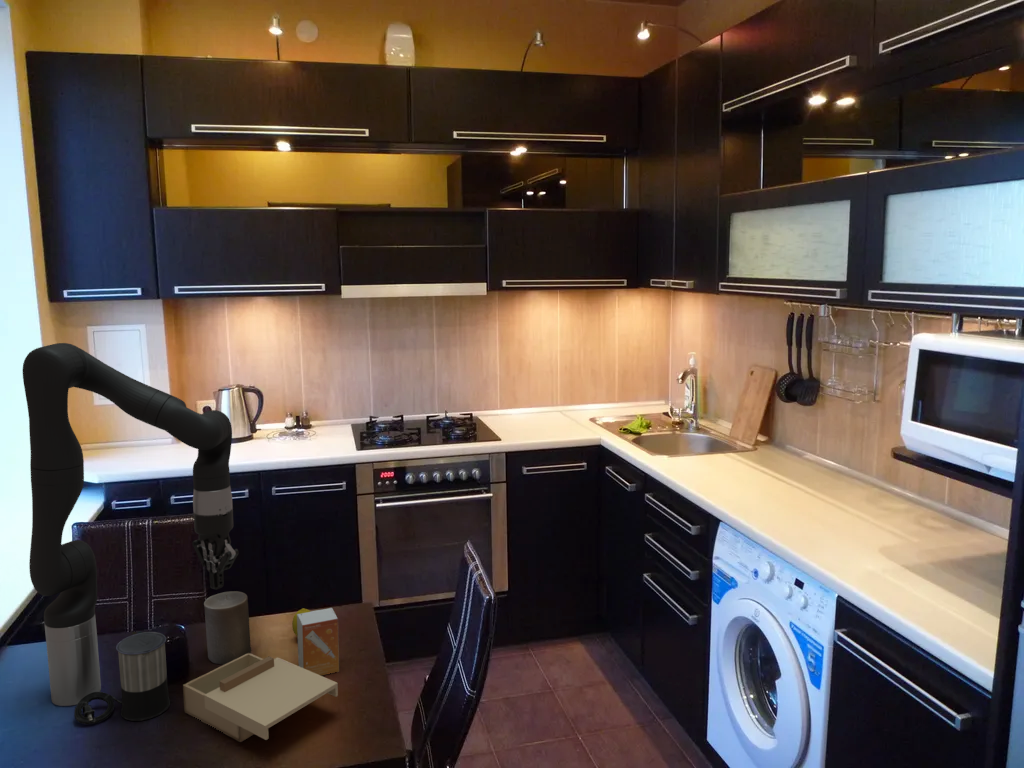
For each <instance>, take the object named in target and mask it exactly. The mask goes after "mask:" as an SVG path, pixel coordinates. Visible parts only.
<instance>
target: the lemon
mask: <svg viewBox="0 0 1024 768" xmlns="http://www.w3.org/2000/svg"><path fill="white" fill-rule="evenodd" d="M311 611H312V610H310V609H307V608H303V607H302V608H301V609H299V610H298V611H296V613H294V615H293V617H292V622H291V623H292V626H291V628H292V632H293V633H294V635H295V636H296V637H297V638H298V633H297V614H301V613H306V612H311Z"/></svg>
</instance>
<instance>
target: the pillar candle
mask: <svg viewBox="0 0 1024 768" xmlns="http://www.w3.org/2000/svg"><path fill="white" fill-rule="evenodd" d="M203 605H204V607H203V608H204V617H205V620H204V622H205V632H206V633H205V634H206V647H207V648H206V649H207V658H208V660H209V661H210V662H211V663H212V664H217V665H225V664H227V663H229V662H231V661H233V660H235V659H237V658H239V657H241V656H243V655H245V654H247V653H251V654H252V647H251V634H250V633H251V632H250V631H251V630H250V616H249V602H248V595H247V594H246V593H245V592H242V591H237V590H236V591H235V590H234V591H224V592H220V593H217V594H213V595H211V596H209V597H208V598H206V599H205V601H204V602H203Z"/></svg>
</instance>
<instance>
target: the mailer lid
mask: <svg viewBox="0 0 1024 768" xmlns="http://www.w3.org/2000/svg"><path fill="white" fill-rule="evenodd" d="M219 682H220V687H219V688H217V689H215V690H213V691H211V692H209V693H207V694H205V695H204V699H205V708H206V709H208V710H209V711H211V712H213V713H215V714H217V715H219V716H221V717H223V718H225V719H227V720H229V721H230V722H232V723H234V724H236V725H238V726H240V727H242V728H244V729H246V730H248V731H250V732H251V733H253V735H255V736H257V737H259V738H261V739H263V740H265V741H267V740H268V739H269V729H270V728H271V727H273V726H274V725H276V724H278V723H279V722H282V721H283V720H284V719H287V718H288V717H290V716H292V714H295V713H296V712H298V711H299V710H301V709H302V708H305V707H306V706H308V705H310V704H311V703H313V702H314V701H316V700H318V699H320V698H321V697H323V696H324V695H326V694H328V695H330V696H332V697H335V698H336V697H338V696H339V689H338V688H339V687H338V686H339V685H338V682H336V681H334V680H332V679H330V678H327V677H324V675H321V676H320V675H318V674H316V673H313V672H311V671H309V670H306V669H304V668H302V667H299V665H297V664H295V663H292V662H290V661H287V660H285V659H283V658H280V657H275V658H274V657H272V656H270V655H269V656H266V657H264V658H262V660H260V661H258V662H256V663H254V664H253V665H251V666H249V667H247V668H245V669H243V670H241V671H239V672H237V673H235V674H233V675H231V676H229V677H227V678H225V679H223V680H221V681H219Z"/></svg>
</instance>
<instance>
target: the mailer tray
mask: <svg viewBox="0 0 1024 768" xmlns="http://www.w3.org/2000/svg"><path fill="white" fill-rule="evenodd" d="M262 659H263V658H262V657H260V656H257V655H255V654H253V653H252V652H251V653H247V654H245V655H243V656H241V657H239V658H237V659H235V660H233V661H231V662H229V663H227V664H222V665H221V666H219V667H217V668H214V669H213V670H210V671H208V672H207V673H205V674H202V675H200V676H199V677H197V678H193V679H192V680H190V681H188V682H186V683H184V684H182V691H183V706H184V707H183V709H184V713H185V714H188V715H189V716H190V717H192V718H194V717H195V718H194V719H196V718H197V719H196V720H198V719H199V720H198V721H200V720H201V721H200V722H202V723H203V724H205V725H207V724H208V726H209V725H210V726H209V727H211V726H212V728H213V727H214V728H213V729H215V728H216V729H215V730H217V731H218V730H219V732H220V731H221V733H222V732H223V733H222V734H225V735H226V736H228V737H229V738H231V739H233V740H235V741H237V742H239V743H242V742H243V741H245V740H246V739H249V738H250V737H251V736H253V735H254V734H253V733H251V732H250V731H248V730H246V729H244V728H242V727H240V726H238V725H236V724H234V723H232V722H230V721H229V720H227V719H225V718H223V717H221V716H219V715H217V714H215V713H213V712H211V711H209V710H208V709H206V708H205V699H204V695H205V694H207V693H209V692H211V691H213V690H215V689H217V688H219V687H220V682H219V681H221V680H223V679H225V678H227V677H229V676H231V675H233V674H235V673H237V672H239V671H241V670H243V669H245V668H247V667H249V666H251V665H253V664H254V663H256V662H258V661H260V660H262Z"/></svg>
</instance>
